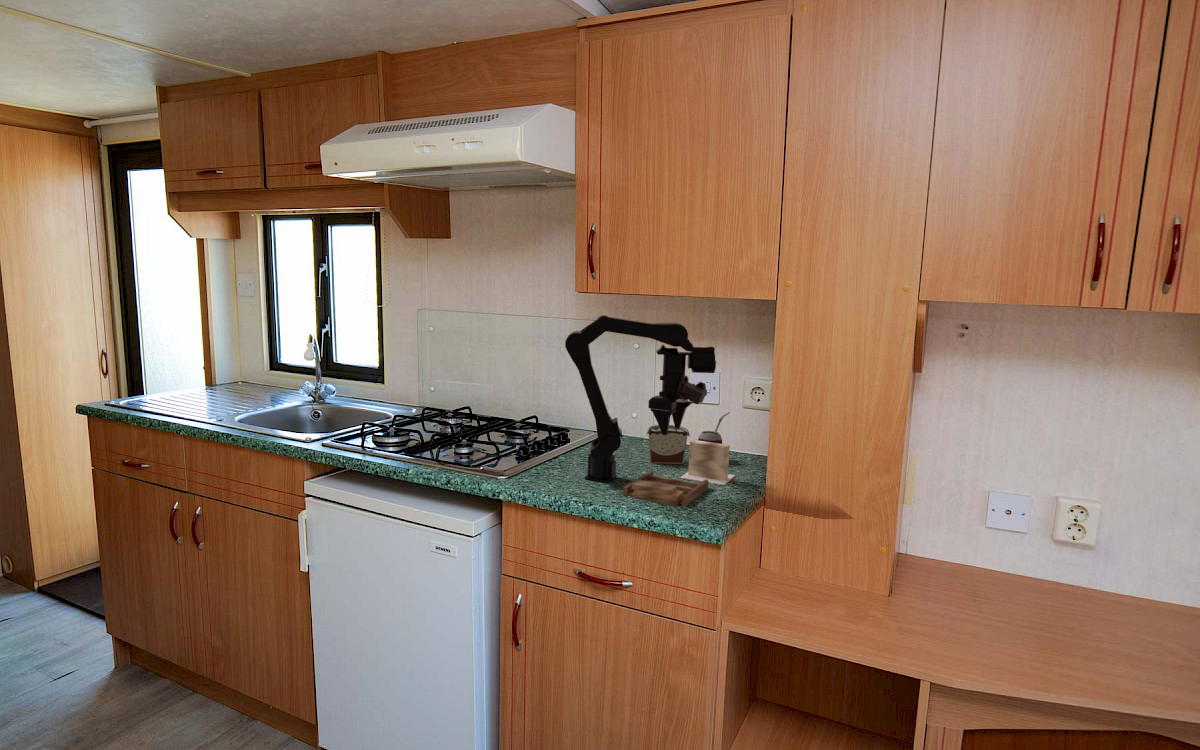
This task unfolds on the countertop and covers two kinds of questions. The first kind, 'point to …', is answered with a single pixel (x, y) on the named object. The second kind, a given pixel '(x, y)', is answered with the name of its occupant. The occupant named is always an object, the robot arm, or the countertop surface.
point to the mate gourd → (712, 434)
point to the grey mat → (712, 481)
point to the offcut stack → (656, 492)
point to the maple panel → (709, 460)
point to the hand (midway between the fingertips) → (671, 431)
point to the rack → (687, 487)
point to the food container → (667, 444)
